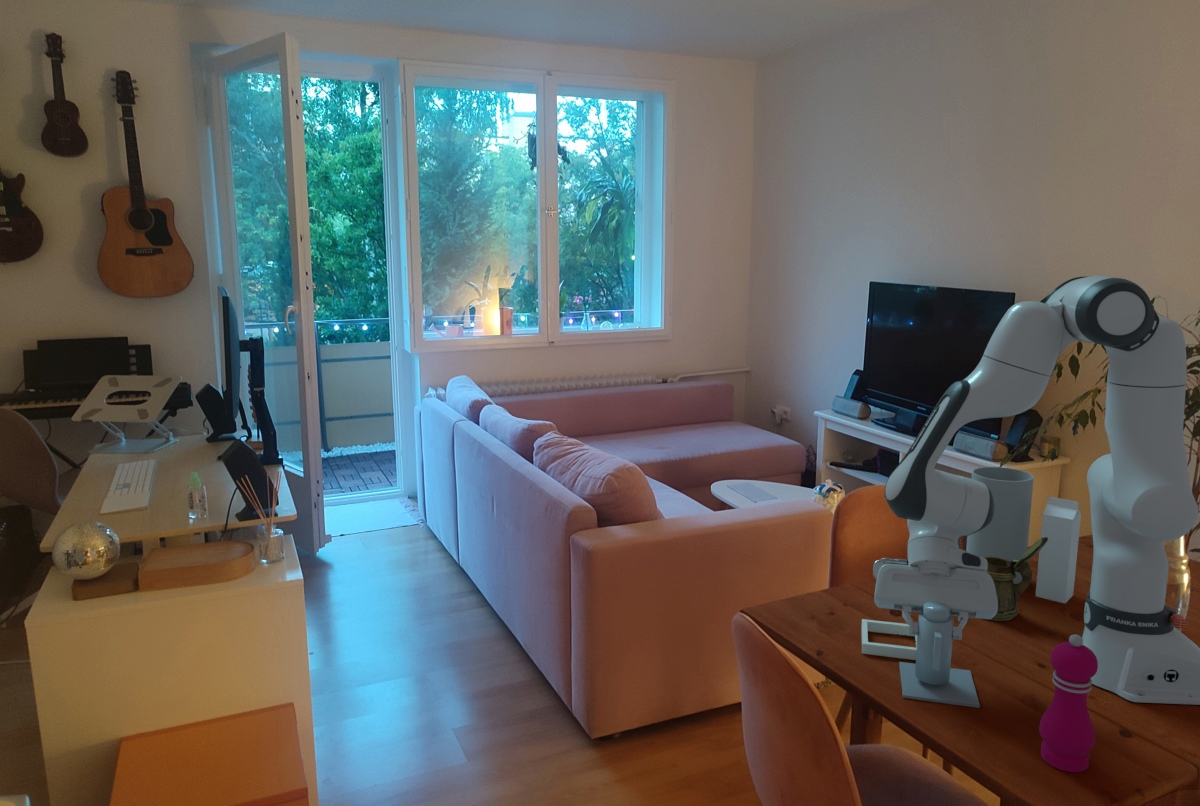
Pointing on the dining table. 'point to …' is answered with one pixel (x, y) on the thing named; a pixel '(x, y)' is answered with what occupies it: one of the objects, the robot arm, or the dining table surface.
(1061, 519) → the milk
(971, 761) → the dining table surface
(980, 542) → the cylinder vase
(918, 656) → the blue capped bottle
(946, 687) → the mat
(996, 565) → the wooden mug
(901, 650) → the holder
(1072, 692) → the pepper mill
